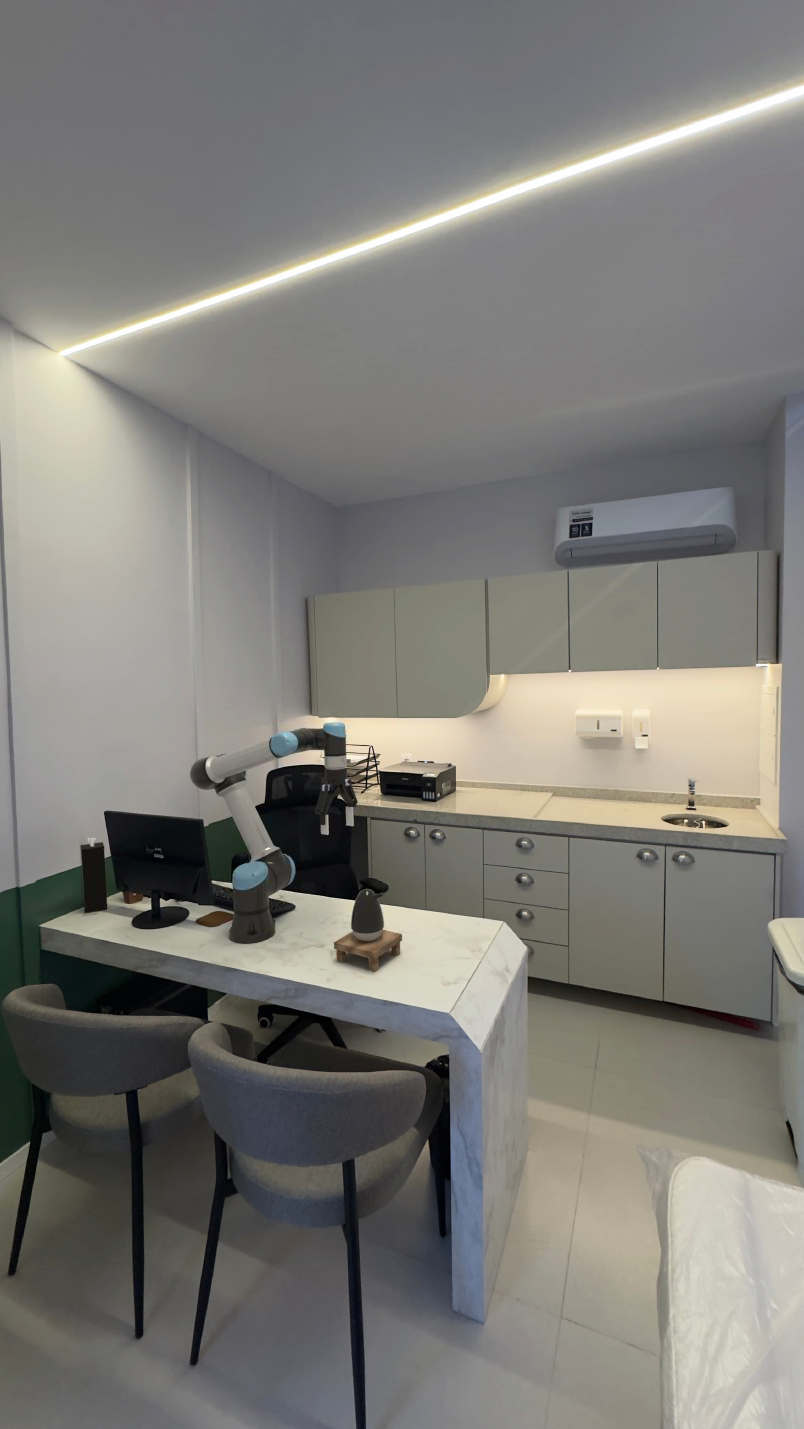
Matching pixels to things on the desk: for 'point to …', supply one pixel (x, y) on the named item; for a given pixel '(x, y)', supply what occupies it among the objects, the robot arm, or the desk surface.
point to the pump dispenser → (367, 916)
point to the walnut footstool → (368, 947)
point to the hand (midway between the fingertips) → (337, 829)
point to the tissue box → (93, 876)
